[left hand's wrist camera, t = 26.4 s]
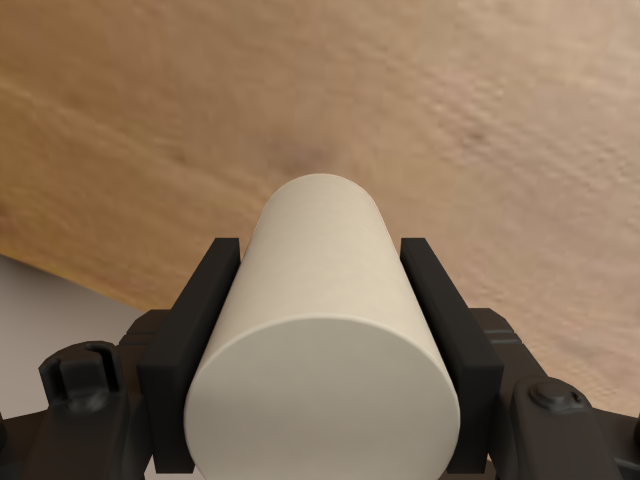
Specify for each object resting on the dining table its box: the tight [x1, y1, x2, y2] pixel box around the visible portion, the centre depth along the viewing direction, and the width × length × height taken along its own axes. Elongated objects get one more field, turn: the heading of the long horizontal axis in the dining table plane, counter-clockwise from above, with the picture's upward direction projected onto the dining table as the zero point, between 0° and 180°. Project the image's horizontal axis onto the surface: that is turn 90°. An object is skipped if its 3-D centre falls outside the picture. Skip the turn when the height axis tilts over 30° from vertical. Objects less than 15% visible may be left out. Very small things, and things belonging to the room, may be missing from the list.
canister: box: [183, 174, 460, 480], centre depth 13 cm, size 5×5×11 cm
